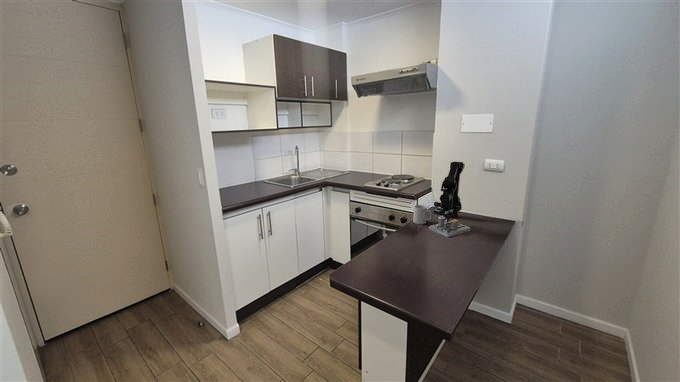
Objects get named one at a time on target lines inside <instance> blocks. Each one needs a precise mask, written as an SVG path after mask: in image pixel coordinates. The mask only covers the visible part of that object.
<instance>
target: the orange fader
mask: <svg viewBox="0 0 680 382" xmlns="http://www.w3.org/2000/svg"><path fill="white" fill-rule="evenodd" d="M450 221H451V229H457V223H459V220H458V219H457V218H455V219H454V218H452V219H451V220H450Z"/></svg>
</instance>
